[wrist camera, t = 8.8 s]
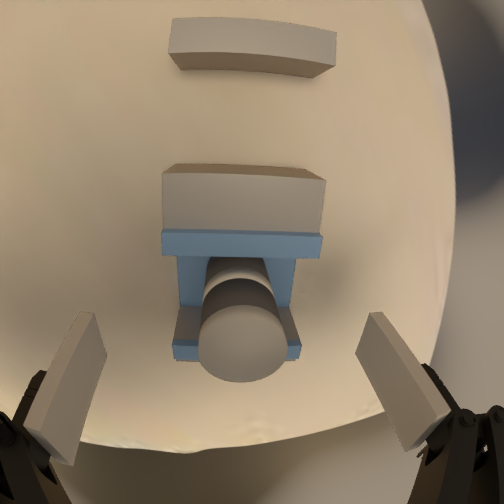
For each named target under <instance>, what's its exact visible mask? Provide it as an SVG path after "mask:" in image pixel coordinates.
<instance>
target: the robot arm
mask: <svg viewBox="0 0 504 504" xmlns="http://www.w3.org/2000/svg"><path fill="white" fill-rule="evenodd" d="M355 354H356V356H357V358H358V360H359V361H360V363H361V365H362V367H363V369H364V371H365V373H366V375H367V377H368V379H369V380H370V382H371V384H372V386H373V388H374V390H375V392H376V394H377V396H378V398H379V400H380V402H381V404H382V406H383V408H384V410H385V412H386V414H387V415H388V418H389V420H390V422H391V424H392V426H393V428H394V430H395V432H396V434H397V436H398V438H399V441H400V442H401V445H402V447H403V449H404V451H405V452H407V451H410V450H412V449H414V448H417V447H419V446H420V445H421V444H422V443H423V442H424V441H425V440H426V441H427V443H428V444H427V445H426V446H425V447H424V448H423V449H422V450H421V452H419V453H418V455H417V457H420V456H421V455H422V454H423V457H422V461H421V464H420V468H419V471H418V474H417V477H416V480H415V484H414V486H413V489H412V492H411V495H410V498H409V500H408V503H407V504H504V408H503V407H501V406H498V405H495V406H493V407H491V409H490V410H489V411H488V412H487V413H484V414H474V413H473V412H472V411H470V410H468V409H460V407H459V406H458V405H457V403H456V402H455V400H454V399H453V397H452V396H451V394H450V393H449V391H448V390H447V388H446V387H445V386H444V385H443V382H442V381H441V380H440V379H439V377H438V375H437V374H436V373H435V371H434V370H433V369H432V368H431V367H429V366H428V365H427V364H426V363H424V364H420V363H419V361H418V360H417V358H416V357H415V356H414V354H413V353H412V351H411V350H410V349H409V347H408V346H407V344H406V343H405V342H404V340H403V339H402V338H401V336H400V335H399V334H398V332H397V331H396V330H395V328H394V327H393V326H392V324H391V323H390V322H389V320H388V319H387V318H386V316H385V315H384V314H383V312H374V313H369V316H368V319H367V322H366V325H365V328H364V331H363V334H362V336H361V339H360V342H359V344H358V347H357V350H356V352H355ZM106 358H107V354H106V351H105V348H104V345H103V341H102V338H101V335H100V332H99V329H98V325H97V322H96V318H95V315H94V313H87V312H80V313H79V315H78V317H77V318H76V320H75V322H74V323H73V325H72V327H71V329H70V330H69V332H68V334H67V336H66V337H65V339H64V341H63V343H62V345H61V346H60V348H59V350H58V352H57V354H56V356H55V358H54V360H53V361H52V363H51V365H50V367H49V369H48V371H47V372H46V371H42V370H40V371H39V372H38V373H37V374H36V375H34V376H33V377H32V379H31V381H30V383H29V385H28V389H26V391H25V393H24V396H23V397H22V400H21V402H20V404H19V406H18V408H17V410H16V413H15V415H14V417H13V420H12V421H11V420H10V419H9V417H8V416H7V415H6V414H5V413H3V412H1V411H0V504H72V503H71V501H70V500H69V498H68V496H67V494H66V492H65V490H64V488H63V487H62V485H61V483H60V481H59V479H58V477H57V475H56V473H55V470H54V468H53V466H52V464H51V463H50V462H49V459H50V456H52V457H53V458H54V459H55V460H56V461H57V462H60V463H63V464H66V465H70V466H73V464H74V460H75V456H76V452H77V448H78V444H79V441H80V437H81V434H82V430H83V427H84V423H85V420H86V417H87V413H88V410H89V407H90V404H91V401H92V398H93V395H94V392H95V389H96V386H97V383H98V380H99V377H100V374H101V371H102V369H103V366H104V363H105V360H106ZM486 445H487V449H488V450H487V451H486V452H485V451H484V447H485V446H486Z"/></svg>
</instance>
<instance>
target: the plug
mask: <svg viewBox="0 0 504 504" xmlns="http://www.w3.org/2000/svg"><path fill="white" fill-rule="evenodd" d="M287 353H288V344H287V341H286V337H285V334H284V330H283V326H282V323H281V319H280V315H279V312H278V308H277V305H276V301H275V298H274V294H273V290H272V287H271V283H270V280H269V276H268V273H267V269H266V266H265V262H264V260H263V258H260V257H213V256H211V257H210V259H209V261H208V264H207V269H206V277H205V286H204V295H203V304H202V313H201V323H200V333H199V343H198V357H199V360H200V362H201V364H202V366H203V367H204V368H205V369H206V370H207V371H208V372H209V373H210V374H212V375H213V376H215V377H217V378H220V379H222V380H225V381H230V382H252V381H256V380H259V379H262V378H265V377H267V376H269V375H271V374H272V373H274V372H275V371H276V370H277V369H279V368H280V366H281V365H282V364H283V363H284V361H285V359H286V357H287Z"/></svg>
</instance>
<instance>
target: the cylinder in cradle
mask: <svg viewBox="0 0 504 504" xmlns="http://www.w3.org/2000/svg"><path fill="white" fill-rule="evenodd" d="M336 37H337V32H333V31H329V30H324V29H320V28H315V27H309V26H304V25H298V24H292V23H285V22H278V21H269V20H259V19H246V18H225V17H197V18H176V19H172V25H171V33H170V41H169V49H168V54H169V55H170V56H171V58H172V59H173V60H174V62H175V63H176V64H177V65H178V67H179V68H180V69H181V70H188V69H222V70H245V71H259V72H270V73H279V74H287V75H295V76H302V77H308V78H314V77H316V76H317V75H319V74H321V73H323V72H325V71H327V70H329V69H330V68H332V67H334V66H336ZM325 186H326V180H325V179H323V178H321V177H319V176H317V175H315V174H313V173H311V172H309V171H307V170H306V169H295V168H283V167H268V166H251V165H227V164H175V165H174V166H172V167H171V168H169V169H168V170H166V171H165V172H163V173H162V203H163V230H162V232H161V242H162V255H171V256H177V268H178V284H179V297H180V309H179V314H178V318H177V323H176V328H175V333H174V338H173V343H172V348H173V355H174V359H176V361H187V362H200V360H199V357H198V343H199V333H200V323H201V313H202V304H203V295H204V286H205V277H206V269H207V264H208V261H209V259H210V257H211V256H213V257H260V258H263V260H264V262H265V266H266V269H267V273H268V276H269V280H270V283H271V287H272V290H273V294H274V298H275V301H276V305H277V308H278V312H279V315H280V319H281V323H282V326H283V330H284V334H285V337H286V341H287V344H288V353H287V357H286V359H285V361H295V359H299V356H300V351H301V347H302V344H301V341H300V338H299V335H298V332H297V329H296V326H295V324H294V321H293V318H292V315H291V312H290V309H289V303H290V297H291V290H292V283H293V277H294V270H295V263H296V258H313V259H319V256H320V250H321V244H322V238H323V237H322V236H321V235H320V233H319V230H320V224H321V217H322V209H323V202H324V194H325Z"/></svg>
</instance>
